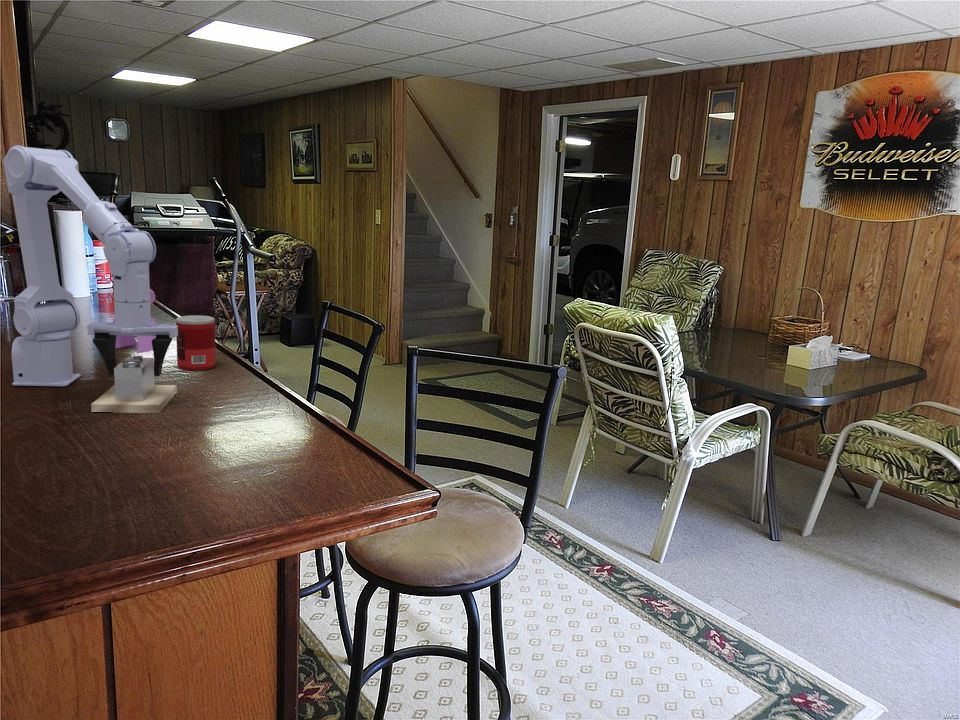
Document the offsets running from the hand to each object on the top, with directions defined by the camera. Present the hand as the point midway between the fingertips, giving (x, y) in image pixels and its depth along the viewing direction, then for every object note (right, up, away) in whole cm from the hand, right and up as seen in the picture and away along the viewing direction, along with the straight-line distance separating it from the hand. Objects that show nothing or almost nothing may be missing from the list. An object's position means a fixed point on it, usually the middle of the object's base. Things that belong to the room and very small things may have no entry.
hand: (135, 374), depth 126 cm
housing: (0, -4, +1) cm, 4 cm away
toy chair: (-20, +5, +41) cm, 46 cm away
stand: (0, -5, +1) cm, 5 cm away
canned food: (0, +1, +28) cm, 28 cm away
